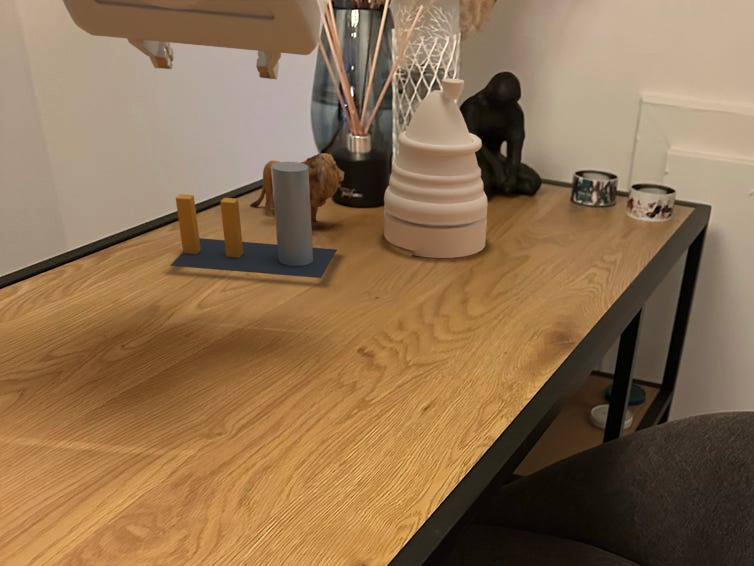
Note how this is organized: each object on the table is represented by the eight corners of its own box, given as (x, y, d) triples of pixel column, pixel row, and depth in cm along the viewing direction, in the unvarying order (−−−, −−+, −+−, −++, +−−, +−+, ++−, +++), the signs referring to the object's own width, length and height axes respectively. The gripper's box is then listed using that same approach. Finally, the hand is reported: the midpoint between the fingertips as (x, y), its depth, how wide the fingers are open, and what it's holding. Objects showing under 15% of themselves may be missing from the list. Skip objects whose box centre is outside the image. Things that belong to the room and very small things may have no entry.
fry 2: (226, 256, 108) (220, 201, 104) (229, 252, 109) (223, 197, 105) (240, 258, 108) (234, 202, 104) (243, 253, 109) (238, 198, 105)
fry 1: (183, 253, 108) (175, 197, 104) (187, 249, 109) (179, 193, 105) (196, 254, 108) (189, 198, 104) (200, 250, 109) (193, 195, 105)
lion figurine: (352, 229, 120) (350, 152, 114) (326, 239, 116) (322, 160, 111) (263, 206, 125) (257, 132, 120) (236, 215, 122) (228, 138, 116)
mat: (170, 270, 105) (169, 265, 105) (196, 242, 113) (196, 237, 112) (321, 283, 105) (321, 277, 104) (337, 254, 112) (337, 249, 112)
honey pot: (505, 242, 120) (517, 81, 108) (442, 265, 112) (448, 93, 100) (427, 219, 125) (431, 63, 114) (362, 239, 117) (359, 74, 106)
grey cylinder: (274, 264, 107) (267, 169, 100) (282, 253, 110) (275, 160, 103) (309, 267, 107) (304, 172, 100) (316, 256, 110) (311, 163, 103)
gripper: (310, -90, 70) (337, 44, 84) (38, -115, 70) (110, 23, 84) (300, -12, 69) (329, 110, 83) (26, -37, 69) (100, 89, 83)
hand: (217, 66), depth 83 cm, fingers open, 8 cm apart
